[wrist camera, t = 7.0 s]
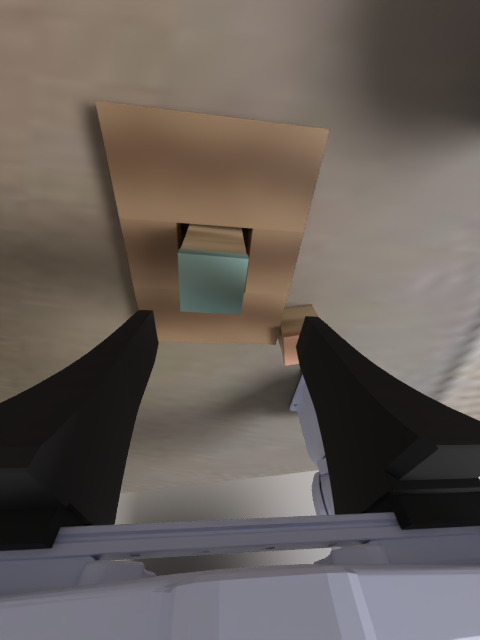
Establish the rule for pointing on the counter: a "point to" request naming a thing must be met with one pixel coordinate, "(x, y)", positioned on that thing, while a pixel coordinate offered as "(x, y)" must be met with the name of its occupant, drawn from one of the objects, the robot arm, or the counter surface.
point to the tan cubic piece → (292, 331)
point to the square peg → (212, 269)
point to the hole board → (210, 208)
